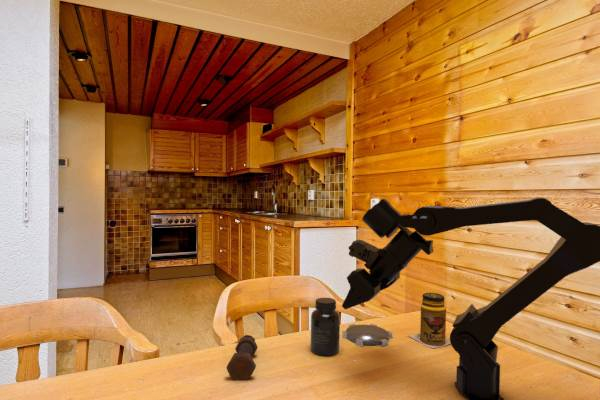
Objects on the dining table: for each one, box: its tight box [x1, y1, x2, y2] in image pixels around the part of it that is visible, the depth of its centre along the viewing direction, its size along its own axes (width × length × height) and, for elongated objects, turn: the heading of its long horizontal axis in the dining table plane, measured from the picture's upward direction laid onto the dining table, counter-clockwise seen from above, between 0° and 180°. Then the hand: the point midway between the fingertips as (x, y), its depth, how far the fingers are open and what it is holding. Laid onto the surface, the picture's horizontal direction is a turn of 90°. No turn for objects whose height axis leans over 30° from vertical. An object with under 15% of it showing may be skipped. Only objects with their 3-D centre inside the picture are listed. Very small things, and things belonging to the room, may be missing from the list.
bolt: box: [226, 334, 258, 382], centre depth 79 cm, size 6×5×15 cm
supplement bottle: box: [310, 297, 341, 357], centre depth 85 cm, size 7×7×12 cm
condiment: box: [408, 292, 451, 349], centre depth 92 cm, size 7×8×12 cm
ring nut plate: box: [342, 323, 393, 347], centre depth 94 cm, size 13×12×1 cm
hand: (352, 302), depth 81 cm, fingers open, 9 cm apart
